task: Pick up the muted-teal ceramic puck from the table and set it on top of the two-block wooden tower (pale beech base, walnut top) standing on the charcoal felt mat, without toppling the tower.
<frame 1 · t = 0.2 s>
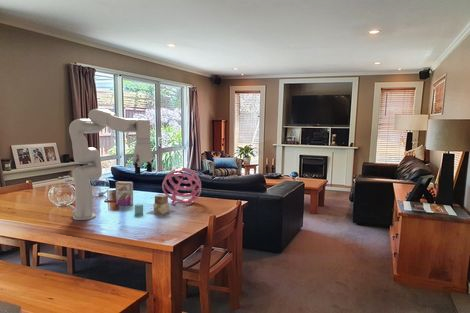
hand: (143, 172, 177), 31 cm above the table, fingers open, 9 cm apart
tower base: (161, 207, 211), on the felt mat, touching tower top
candy bar box: (124, 204, 230), on the table
tower top: (161, 203, 210), point 6 cm above the table, touching tower base
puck: (138, 214, 206), on the table
felt mat: (161, 212, 211), on the table
pink openwork sphere: (182, 203, 237), on the table
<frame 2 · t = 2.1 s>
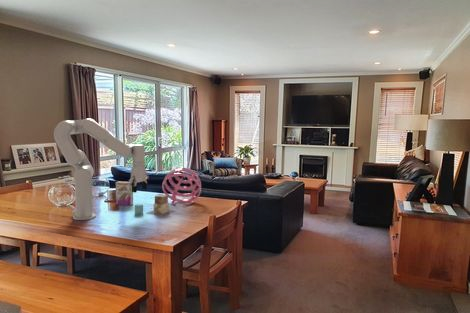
hand: (139, 190, 204), 15 cm above the table, fingers open, 9 cm apart
nothing on the table moved.
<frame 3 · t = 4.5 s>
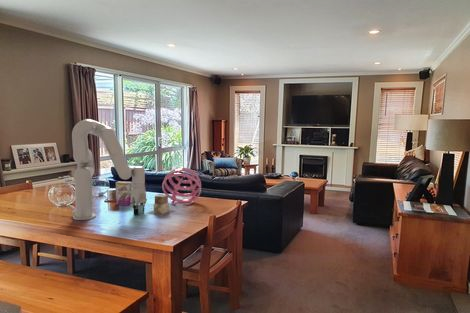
hand: (138, 213, 205), 1 cm above the table, fingers closed on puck, 5 cm apart
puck: (139, 214, 206), on the table, touching gripper
everything else where it was.
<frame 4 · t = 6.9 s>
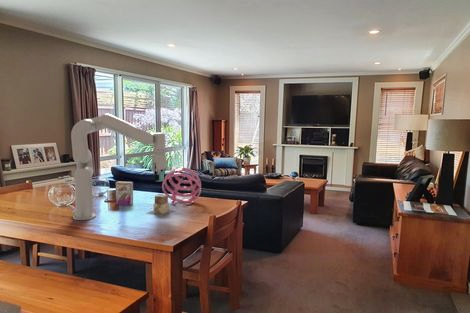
hand: (159, 179, 208), 22 cm above the table, fingers closed on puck, 5 cm apart
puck: (159, 180, 209), point 21 cm above the table, touching gripper
everything else where it was.
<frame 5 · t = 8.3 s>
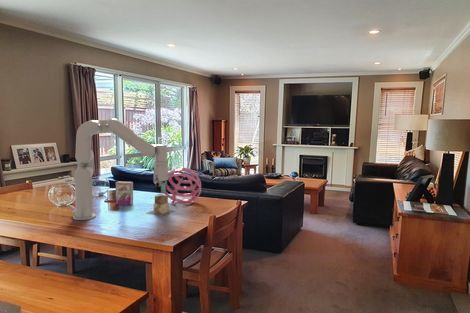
hand: (161, 191, 210), 14 cm above the table, fingers closed on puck, 5 cm apart
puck: (161, 192, 210), point 14 cm above the table, touching gripper
everything else where it was.
when the fingers open (14 cm above the table, at t = 9.3 s): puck drops 1 cm, resting on tower top.
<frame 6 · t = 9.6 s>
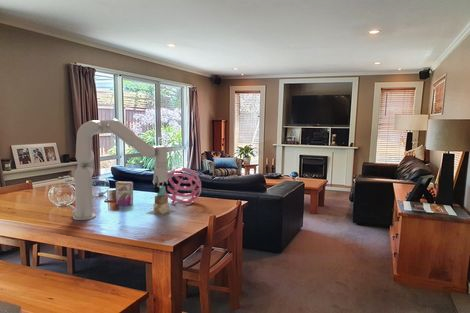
hand: (161, 191, 210), 14 cm above the table, fingers open, 8 cm apart
tower top: (161, 203, 210), point 6 cm above the table, touching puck, tower base
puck: (161, 195, 210), point 11 cm above the table, touching tower top
everything else where it was.
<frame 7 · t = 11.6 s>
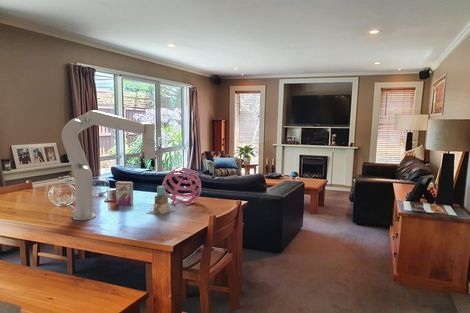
hand: (147, 167, 212), 29 cm above the table, fingers open, 9 cm apart
nothing on the table moved.
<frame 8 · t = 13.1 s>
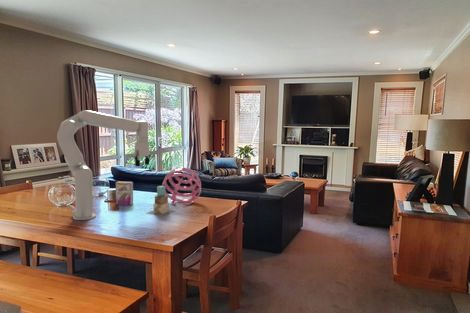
hand: (142, 165, 214), 30 cm above the table, fingers open, 9 cm apart
nothing on the table moved.
at the end: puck 0.0 cm off-centre on the tower top, point 5.0 cm above the tower top's base; tower top tilted 0°; the gripper is holding nothing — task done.
